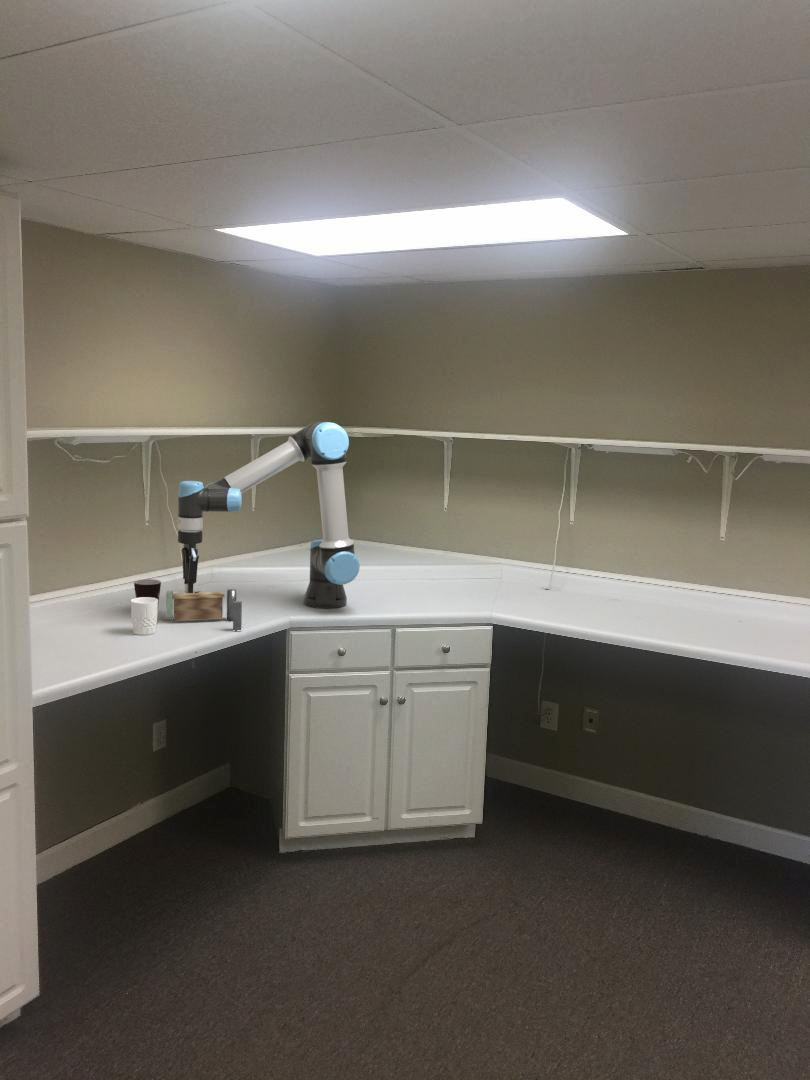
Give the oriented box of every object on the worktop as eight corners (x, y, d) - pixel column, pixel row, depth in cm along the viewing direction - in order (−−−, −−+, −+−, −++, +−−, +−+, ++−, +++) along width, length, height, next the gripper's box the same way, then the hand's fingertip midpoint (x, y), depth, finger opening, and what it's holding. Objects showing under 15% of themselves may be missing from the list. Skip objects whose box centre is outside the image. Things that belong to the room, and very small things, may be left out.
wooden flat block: (223, 616, 279) (223, 591, 278) (224, 618, 277) (224, 593, 276) (172, 618, 274) (172, 593, 272) (172, 620, 272) (172, 595, 270)
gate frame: (245, 619, 281) (246, 589, 280) (240, 631, 267) (241, 599, 265) (167, 617, 279) (168, 587, 277) (158, 629, 264) (158, 597, 263)
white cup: (132, 636, 256) (132, 603, 254) (129, 629, 263) (129, 597, 261) (159, 634, 259) (159, 602, 257) (156, 628, 266) (156, 596, 265)
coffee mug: (153, 615, 281) (153, 585, 279) (129, 613, 282) (128, 583, 281) (169, 607, 292) (169, 578, 290) (146, 605, 294) (146, 576, 292)
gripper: (173, 527, 277) (173, 598, 281) (183, 533, 265) (182, 608, 269) (197, 526, 280) (196, 597, 284) (207, 533, 269) (206, 606, 273)
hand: (189, 602), depth 277 cm, fingers closed
